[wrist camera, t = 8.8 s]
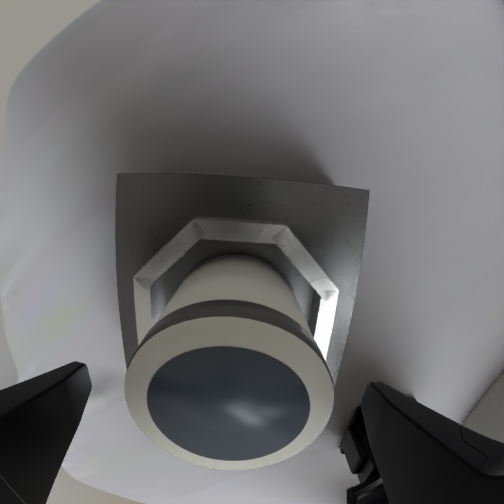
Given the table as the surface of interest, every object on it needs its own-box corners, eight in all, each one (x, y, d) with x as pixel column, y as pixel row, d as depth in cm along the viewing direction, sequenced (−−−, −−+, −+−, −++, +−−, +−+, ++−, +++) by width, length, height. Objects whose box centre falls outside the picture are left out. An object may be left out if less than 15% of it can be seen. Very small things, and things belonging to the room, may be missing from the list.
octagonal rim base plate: (338, 189, 18) (379, 190, 12) (312, 368, 21) (332, 423, 14) (149, 176, 17) (106, 172, 11) (152, 358, 20) (126, 410, 14)
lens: (304, 257, 14) (358, 323, 7) (289, 367, 15) (313, 471, 8) (173, 248, 13) (108, 306, 6) (175, 360, 15) (139, 459, 8)
